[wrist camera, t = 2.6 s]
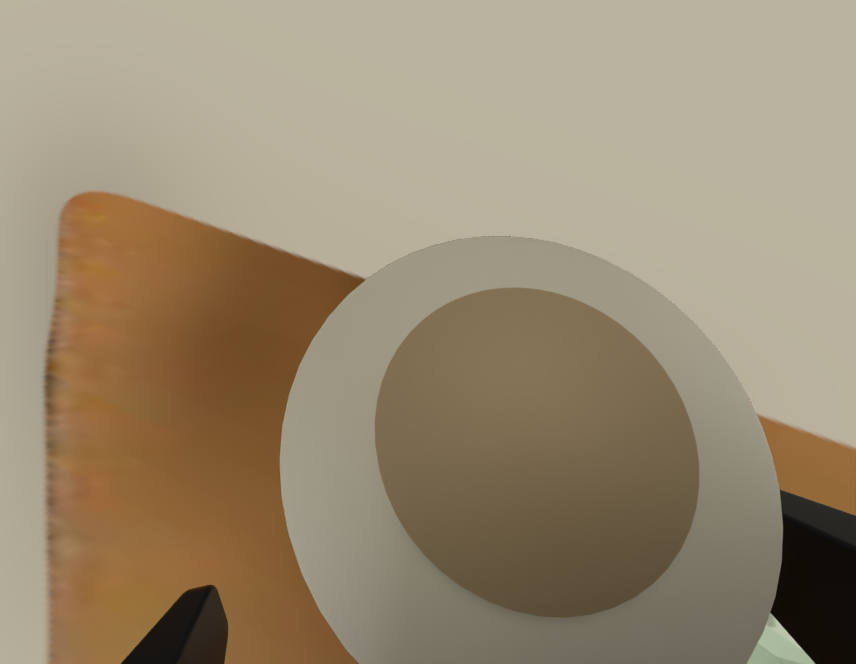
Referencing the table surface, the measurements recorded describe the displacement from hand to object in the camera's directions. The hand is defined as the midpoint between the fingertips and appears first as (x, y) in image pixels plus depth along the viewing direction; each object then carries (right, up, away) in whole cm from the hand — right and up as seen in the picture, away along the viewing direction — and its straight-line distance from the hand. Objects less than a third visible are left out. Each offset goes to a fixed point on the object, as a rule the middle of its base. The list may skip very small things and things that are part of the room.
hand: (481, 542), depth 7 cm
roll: (-1, -3, +8) cm, 9 cm away
